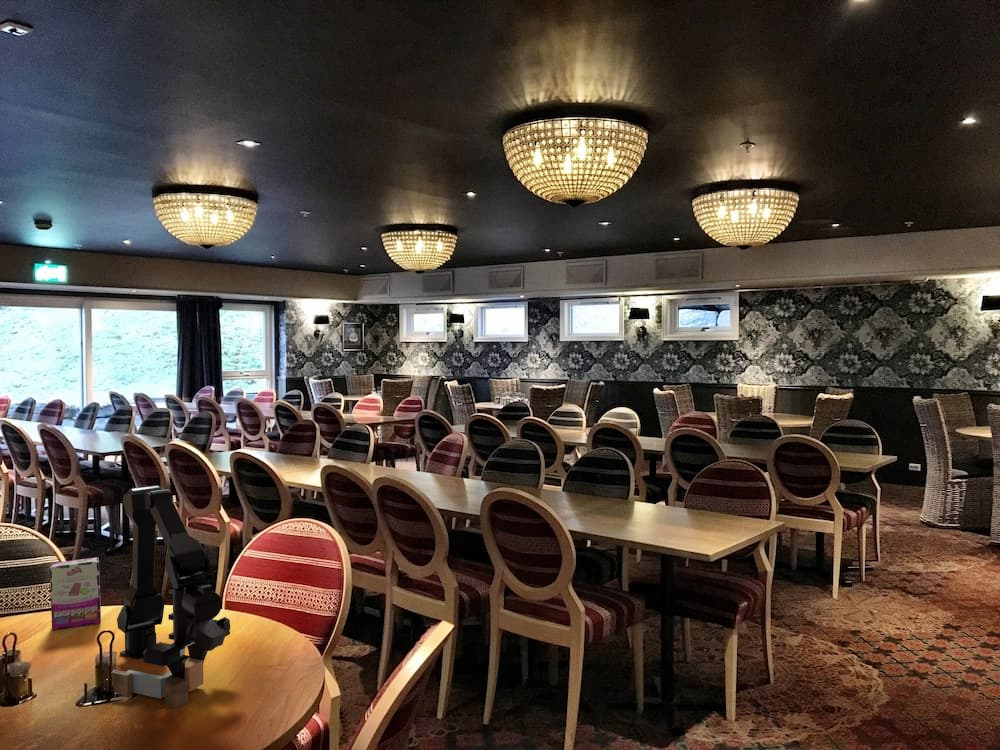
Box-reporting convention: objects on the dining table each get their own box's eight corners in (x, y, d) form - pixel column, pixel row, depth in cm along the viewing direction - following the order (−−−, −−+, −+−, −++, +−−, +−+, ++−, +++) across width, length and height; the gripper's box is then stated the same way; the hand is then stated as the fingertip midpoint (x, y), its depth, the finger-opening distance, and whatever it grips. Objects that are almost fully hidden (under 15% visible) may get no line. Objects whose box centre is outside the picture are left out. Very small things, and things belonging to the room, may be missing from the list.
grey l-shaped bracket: (125, 690, 161) (125, 672, 160) (150, 678, 167) (150, 659, 167) (160, 698, 157) (160, 679, 157) (185, 685, 163) (185, 666, 163)
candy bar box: (100, 617, 205) (99, 556, 204) (101, 623, 200) (99, 561, 200) (52, 624, 200) (50, 561, 199) (51, 631, 195) (49, 566, 194)
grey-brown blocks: (102, 691, 161) (101, 670, 161) (114, 685, 164) (113, 664, 164) (177, 707, 154) (176, 685, 154) (188, 701, 156) (187, 679, 156)
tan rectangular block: (174, 688, 160) (173, 665, 160) (188, 680, 164) (188, 657, 164) (189, 691, 159) (189, 667, 159) (203, 683, 163) (203, 660, 163)
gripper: (184, 628, 149) (186, 708, 150) (248, 598, 167) (249, 670, 167) (140, 621, 153) (142, 698, 154) (207, 592, 171) (208, 662, 171)
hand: (188, 681), depth 162 cm, fingers closed on tan rectangular block, 4 cm apart
